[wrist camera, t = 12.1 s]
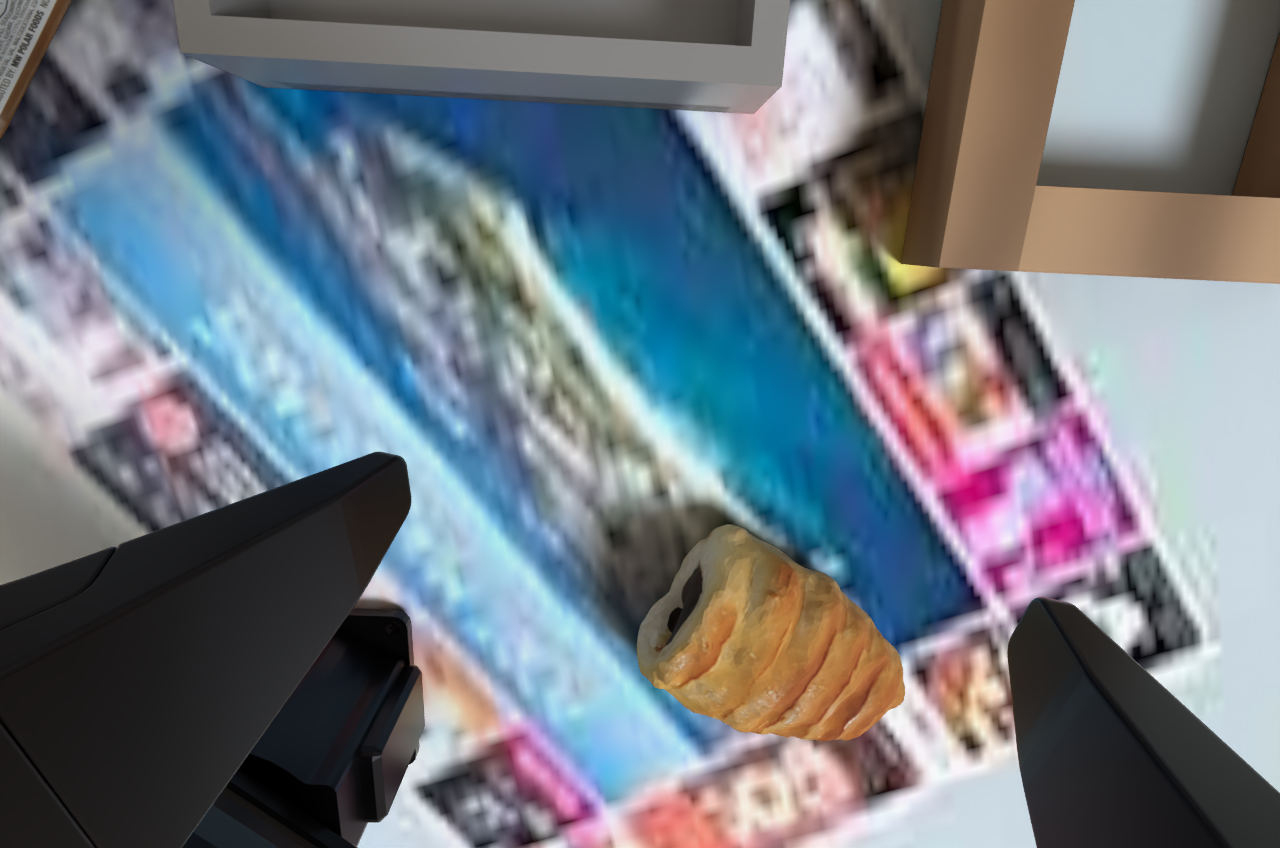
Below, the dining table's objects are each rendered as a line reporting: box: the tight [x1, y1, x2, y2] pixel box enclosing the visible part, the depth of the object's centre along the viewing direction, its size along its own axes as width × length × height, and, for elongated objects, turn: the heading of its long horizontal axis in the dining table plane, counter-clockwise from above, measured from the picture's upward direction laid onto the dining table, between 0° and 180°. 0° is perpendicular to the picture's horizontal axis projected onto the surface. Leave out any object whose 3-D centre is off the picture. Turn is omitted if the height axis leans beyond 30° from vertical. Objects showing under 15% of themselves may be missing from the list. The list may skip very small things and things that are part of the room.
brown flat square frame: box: [901, 0, 1280, 284], centre depth 17 cm, size 12×12×2 cm
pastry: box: [637, 524, 905, 741], centre depth 22 cm, size 9×7×4 cm
